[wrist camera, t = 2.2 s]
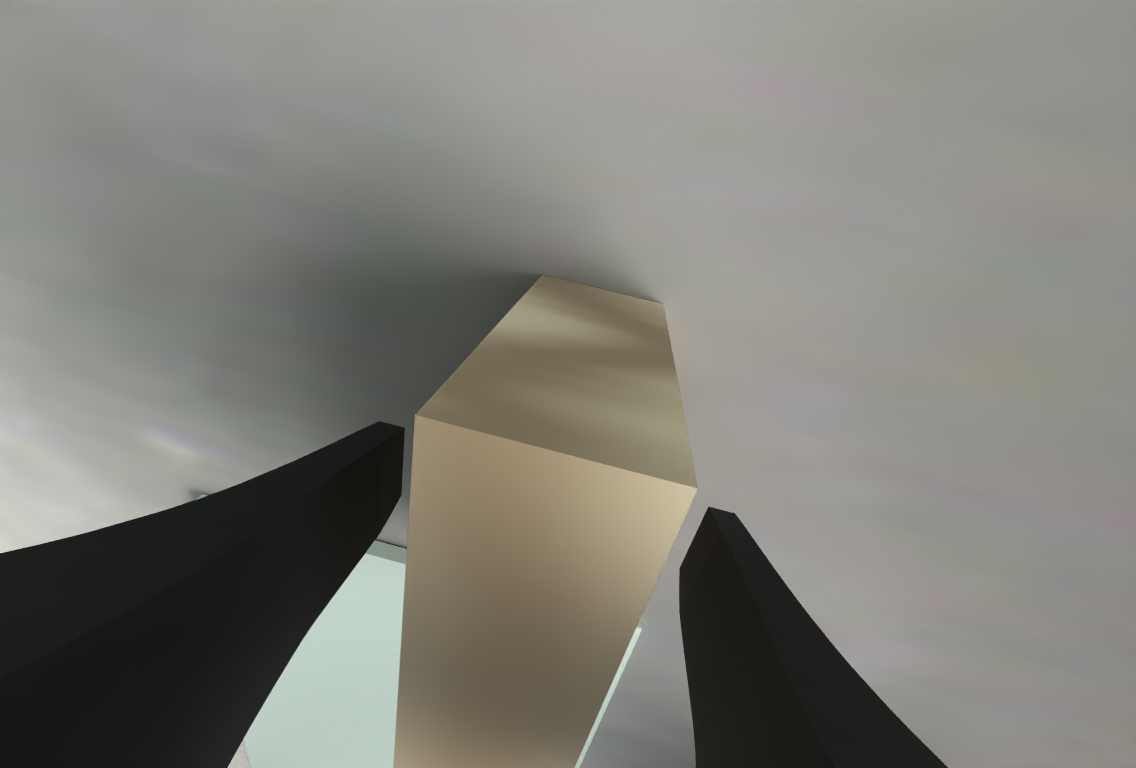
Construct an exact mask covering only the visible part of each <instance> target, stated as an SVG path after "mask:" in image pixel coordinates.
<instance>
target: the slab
mask: <svg viewBox="0 0 1136 768" xmlns="http://www.w3.org/2000/svg"><path fill="white" fill-rule="evenodd" d="M697 489H698V488H697V482H696V477H695V472H694V466H693V461H692V455H691V450H690V445H689V439H688V434H687V429H686V423H685V418H684V413H683V407H682V402H681V397H680V391H679V386H678V380H677V375H676V370H675V364H674V359H673V354H672V348H671V343H670V338H669V332H668V327H667V322H666V316H665V311H664V306H663V304H660V303H656V302H652V301H648V300H644V299H640V298H636V297H632V296H628V295H624V294H620V293H616V292H612V291H608V290H604V289H600V288H596V287H592V286H587V285H583V284H579V283H575V282H571V281H567V280H563V279H559V278H555V277H551V276H547V275H543V274H542V276H541V277H540V278H539V279H538V280H537V281H536V282H535V283H534V284H533V285H532V287H531V288H530V289H529V290H528V291H527V292H526V293H525V294H524V295H523V297H522V298H521V299H520V300H519V301H518V302H517V303H516V304H515V305H514V306H513V308H512V309H511V310H510V311H509V312H508V313H507V314H506V315H505V316H504V317H503V319H502V320H501V321H500V322H499V323H498V324H497V325H496V326H495V327H494V328H493V330H492V331H491V332H490V333H489V334H488V335H487V336H486V337H485V338H484V339H483V341H482V342H481V343H480V344H479V345H478V346H477V347H476V348H475V349H474V350H473V352H472V353H471V354H470V355H469V356H468V357H467V358H466V359H465V360H464V362H463V363H462V364H461V365H460V366H459V367H458V368H457V369H456V370H455V371H454V373H453V374H452V375H451V376H450V377H449V378H448V379H447V380H446V381H445V382H444V384H443V385H442V386H441V387H440V388H439V389H438V390H437V391H436V392H435V393H434V395H433V396H432V397H431V398H430V399H429V400H428V401H427V402H426V403H425V404H424V406H423V407H422V408H421V409H420V410H419V411H418V412H417V413H416V414H415V423H414V439H413V455H412V471H411V488H410V504H409V520H408V536H407V552H406V569H405V585H404V601H403V617H402V633H401V649H400V666H399V682H398V698H397V714H396V730H395V747H394V763H393V768H575V766H576V763H577V761H578V759H579V757H580V754H581V752H582V750H583V747H584V745H585V743H586V741H587V738H588V736H589V734H590V732H591V729H592V727H593V725H594V723H595V720H596V718H597V716H598V713H599V711H600V709H601V707H602V704H603V702H604V700H605V698H606V695H607V693H608V691H609V689H610V686H611V684H612V682H613V679H614V677H615V675H616V673H617V670H618V668H619V666H620V664H621V661H622V659H623V657H624V654H625V652H626V650H627V648H628V645H629V643H630V641H631V639H632V636H633V634H634V632H635V630H636V627H637V625H638V623H639V620H640V618H641V616H642V614H643V611H644V609H645V607H646V605H647V602H648V600H649V598H650V596H651V593H652V591H653V589H654V586H655V584H656V582H657V580H658V577H659V575H660V573H661V571H662V568H663V566H664V564H665V561H666V559H667V557H668V555H669V552H670V550H671V548H672V546H673V543H674V541H675V539H676V537H677V534H678V532H679V530H680V527H681V525H682V523H683V521H684V518H685V516H686V514H687V512H688V509H689V507H690V505H691V503H692V500H693V498H694V496H695V493H696V491H697Z"/></svg>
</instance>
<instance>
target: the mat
mask: <svg viewBox="0 0 1136 768" xmlns="http://www.w3.org/2000/svg"><path fill="white" fill-rule="evenodd" d="M206 496H209V495H205V494H202V495H201V496H199V497H198V498H197V499H200V498H203V497H206ZM197 499H195V500H197ZM406 552H407V549H405V548H401V547H398V546H394V545H390V544H387V543H383V542H379V541H374V542H373V544H372V545H371V546H370V548H369V549H368V550H367V552H366V553H365V555H364V556H363V557H362V559H361V560H360V561H359V563H358V564H357V565H356V567H355V568H354V569H353V571H352V572H351V574H350V575H349V576H348V578H347V579H346V580H345V582H344V583H343V584H342V586H341V587H340V588H339V590H338V591H337V592H336V594H335V595H334V597H333V598H332V599H331V601H330V602H329V603H328V605H327V606H326V607H325V609H324V610H323V611H322V613H321V614H320V615H319V617H318V618H317V619H316V621H315V622H314V624H313V625H312V627H311V628H310V630H309V631H308V633H307V634H306V636H305V637H304V639H303V640H302V642H301V643H300V645H299V646H298V648H297V650H296V651H295V653H294V655H293V656H292V658H291V660H290V661H289V663H288V664H287V666H286V668H285V669H284V671H283V673H282V674H281V676H280V678H279V679H278V681H277V682H276V684H275V686H274V687H273V689H272V691H271V692H270V694H269V696H268V698H267V699H266V701H265V703H264V704H263V706H262V708H261V710H260V711H259V713H258V715H257V716H256V718H255V720H254V722H253V723H252V725H251V727H250V728H249V730H248V732H247V734H246V735H245V737H244V739H243V740H244V745H245V749H246V753H247V757H248V762H249V766H250V768H393V763H394V747H395V730H396V714H397V698H398V682H399V666H400V649H401V633H402V617H403V601H404V585H405V569H406ZM641 630H642V616H641V618H640V620H639V623H638V625H637V627H636V630H635V632H634V634H633V636H632V639H631V641H630V643H629V645H628V648H627V650H626V652H625V654H624V657H623V659H622V661H621V664H620V666H619V668H618V670H617V673H616V675H615V677H614V679H613V682H612V684H611V686H610V689H609V691H608V693H607V695H606V698H605V700H604V702H603V704H602V707H601V709H600V711H599V713H598V716H597V718H596V720H595V723H594V725H593V727H592V729H591V732H590V734H589V736H588V738H587V741H586V743H585V745H584V747H583V750H582V752H581V754H580V757H579V759H578V761H577V763H576V766H575V768H580V765H581V763H582V761H583V759H584V757H585V754H586V752H587V750H588V748H589V745H590V743H591V741H592V739H593V737H594V734H595V732H596V730H597V728H598V726H599V723H600V721H601V719H602V717H603V714H604V712H605V710H606V708H607V706H608V703H609V701H610V699H611V697H612V694H613V692H614V690H615V688H616V686H617V683H618V681H619V679H620V677H621V674H622V672H623V670H624V668H625V666H626V663H627V661H628V659H629V657H630V655H631V652H632V650H633V648H634V646H635V643H636V641H637V639H638V637H639V635H640V632H641Z"/></svg>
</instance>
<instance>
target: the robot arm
mask: <svg viewBox="0 0 1136 768" xmlns="http://www.w3.org/2000/svg"><path fill="white" fill-rule="evenodd" d="M404 430H405V428H403V427H399V426H395V425H391V424H387V423H384V422H377V423H375V424H372V425H370V426H368V427H366V428H364V429H361V430H359V431H357V432H355V433H353V434H351V435H349V436H347V437H345V438H343V439H340V440H338V441H336V442H334V443H332V444H330V445H328V446H326V447H323V448H321V449H319V450H317V451H315V452H313V453H310V454H308V455H306V456H304V457H302V458H300V459H298V460H295V461H293V462H291V463H289V464H286V465H284V466H281V467H279V468H277V469H274V470H272V471H269V472H267V473H265V474H262V475H260V476H257V477H255V478H253V479H250V480H248V481H245V482H243V483H241V484H238V485H235V486H233V487H230V488H228V489H225V490H222V491H220V492H217V493H214V494H211V495H209V496H206V497H203V498H200V499H197V500H194V501H191V502H188V503H185V504H182V505H179V506H176V507H173V508H170V509H167V510H164V511H161V512H157V513H154V514H150V515H147V516H144V517H140V518H137V519H133V520H130V521H126V522H123V523H119V524H116V525H112V526H109V527H105V528H102V529H98V530H95V531H91V532H88V533H84V534H80V535H76V536H72V537H68V538H64V539H60V540H56V541H52V542H48V543H44V544H40V545H35V546H31V547H27V548H22V549H18V550H13V551H9V552H5V553H0V768H227V767H228V765H229V764H230V762H231V760H232V758H233V756H234V755H235V753H236V751H237V749H238V747H239V746H240V744H241V742H242V740H243V739H244V737H245V735H246V734H247V732H248V730H249V728H250V727H251V725H252V723H253V722H254V720H255V718H256V716H257V715H258V713H259V711H260V710H261V708H262V706H263V704H264V703H265V701H266V699H267V698H268V696H269V694H270V692H271V691H272V689H273V687H274V686H275V684H276V682H277V681H278V679H279V678H280V676H281V674H282V673H283V671H284V669H285V668H286V666H287V664H288V663H289V661H290V660H291V658H292V656H293V655H294V653H295V651H296V650H297V648H298V646H299V645H300V643H301V642H302V640H303V639H304V637H305V636H306V634H307V633H308V631H309V630H310V628H311V627H312V625H313V624H314V622H315V621H316V619H317V618H318V617H319V615H320V614H321V613H322V611H323V610H324V609H325V607H326V606H327V605H328V603H329V602H330V601H331V599H332V598H333V597H334V595H335V594H336V592H337V591H338V590H339V588H340V587H341V586H342V584H343V583H344V582H345V580H346V579H347V578H348V576H349V575H350V574H351V572H352V571H353V569H354V568H355V567H356V565H357V564H358V563H359V561H360V560H361V559H362V557H363V556H364V555H365V553H366V552H367V550H368V549H369V548H370V546H371V545H372V544H373V542H374V541H375V539H376V538H377V537H378V535H379V534H380V532H381V531H382V529H383V527H384V525H385V524H386V522H387V520H388V518H389V517H390V515H391V513H392V511H393V509H394V508H395V506H396V504H397V502H398V500H399V498H400V497H401V492H402V471H403V451H404ZM679 606H680V621H681V630H682V638H683V647H684V655H685V663H686V671H687V679H688V686H689V694H690V702H691V710H692V718H693V728H694V739H695V752H696V768H948V767H947V766H946V765H945V764H944V763H943V762H942V761H941V760H940V759H939V758H938V757H937V756H936V755H935V754H934V753H933V752H932V751H931V750H930V749H929V748H928V747H927V746H926V745H925V744H924V743H923V742H922V741H921V740H920V739H919V738H918V737H917V736H916V735H915V734H914V733H913V732H912V731H911V730H910V729H909V728H908V727H907V726H906V725H905V724H904V723H903V722H902V721H901V720H900V719H899V718H898V717H897V716H896V715H895V714H894V713H893V712H892V711H891V710H890V709H889V708H888V706H887V705H886V704H885V703H884V702H883V701H882V700H881V699H880V698H879V697H878V696H877V694H876V693H875V692H874V691H873V690H872V689H871V688H870V687H869V686H868V684H867V683H866V682H865V681H864V680H863V679H862V678H861V677H860V676H859V675H858V673H857V672H856V671H855V670H854V669H853V668H852V667H851V666H850V664H849V663H848V662H847V661H846V660H845V659H844V657H843V656H842V655H841V654H840V653H839V652H838V650H837V649H836V648H835V647H834V646H833V644H832V643H831V642H830V641H829V639H828V638H827V637H826V636H825V634H824V633H823V632H822V631H821V629H820V628H819V627H818V626H817V625H816V623H815V622H814V621H813V620H812V618H811V617H810V616H809V614H808V613H807V612H806V611H805V609H804V608H803V607H802V605H801V604H800V603H799V601H798V600H797V599H796V597H795V596H794V595H793V593H792V592H791V591H790V589H789V588H788V587H787V585H786V584H785V583H784V581H783V580H782V579H781V577H780V576H779V574H778V573H777V572H776V570H775V569H774V567H773V566H772V565H771V563H770V562H769V560H768V559H767V558H766V556H765V555H764V553H763V552H762V550H761V549H760V548H759V546H758V545H757V543H756V542H755V541H754V539H753V538H752V536H751V535H750V533H749V532H748V531H747V529H746V528H745V526H744V525H743V524H742V522H741V521H740V520H739V518H738V517H737V516H736V514H735V513H731V512H727V511H723V510H719V509H715V508H711V507H708V509H707V511H706V513H705V515H704V517H703V520H702V522H701V524H700V526H699V528H698V530H697V532H696V535H695V537H694V539H693V541H692V543H691V545H690V547H689V549H688V552H687V554H686V556H685V558H684V560H683V562H682V564H681V567H680V578H679Z"/></svg>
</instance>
